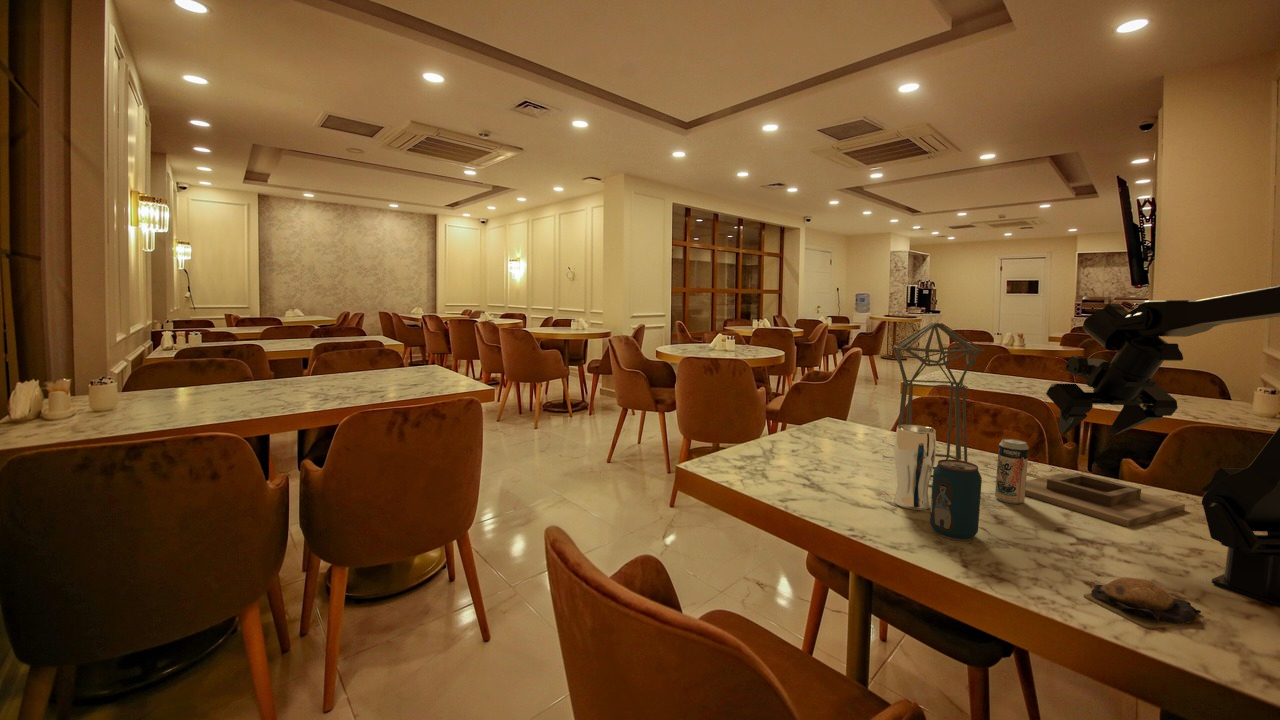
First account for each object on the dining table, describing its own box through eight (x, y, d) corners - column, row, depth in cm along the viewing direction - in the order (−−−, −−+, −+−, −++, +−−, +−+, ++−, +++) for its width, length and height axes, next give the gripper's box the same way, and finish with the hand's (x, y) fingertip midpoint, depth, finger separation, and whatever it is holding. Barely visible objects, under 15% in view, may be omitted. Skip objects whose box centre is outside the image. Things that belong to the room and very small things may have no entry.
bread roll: (1150, 637, 61) (1153, 607, 60) (1075, 597, 69) (1077, 571, 68) (1215, 624, 63) (1218, 595, 63) (1135, 587, 71) (1137, 562, 71)
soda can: (976, 530, 88) (981, 462, 87) (978, 546, 82) (984, 473, 81) (929, 521, 92) (934, 455, 90) (928, 536, 86) (933, 466, 84)
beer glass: (883, 500, 102) (887, 425, 100) (909, 496, 104) (914, 423, 103) (913, 513, 95) (918, 433, 94) (940, 508, 98) (945, 431, 96)
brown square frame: (1127, 526, 90) (1129, 509, 90) (1007, 489, 108) (1008, 475, 108) (1184, 510, 98) (1186, 493, 98) (1063, 478, 116) (1064, 464, 116)
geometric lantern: (892, 487, 109) (898, 322, 107) (887, 468, 124) (893, 322, 121) (979, 497, 103) (988, 322, 101) (964, 476, 118) (971, 322, 115)
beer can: (989, 498, 103) (993, 439, 102) (1003, 494, 105) (1008, 437, 104) (1015, 506, 99) (1020, 445, 98) (1029, 502, 101) (1034, 442, 100)
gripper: (1152, 340, 94) (1107, 405, 103) (1048, 339, 95) (1012, 404, 104) (1204, 378, 85) (1150, 445, 94) (1088, 377, 86) (1045, 444, 95)
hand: (1086, 432), depth 97 cm, fingers open, 9 cm apart
